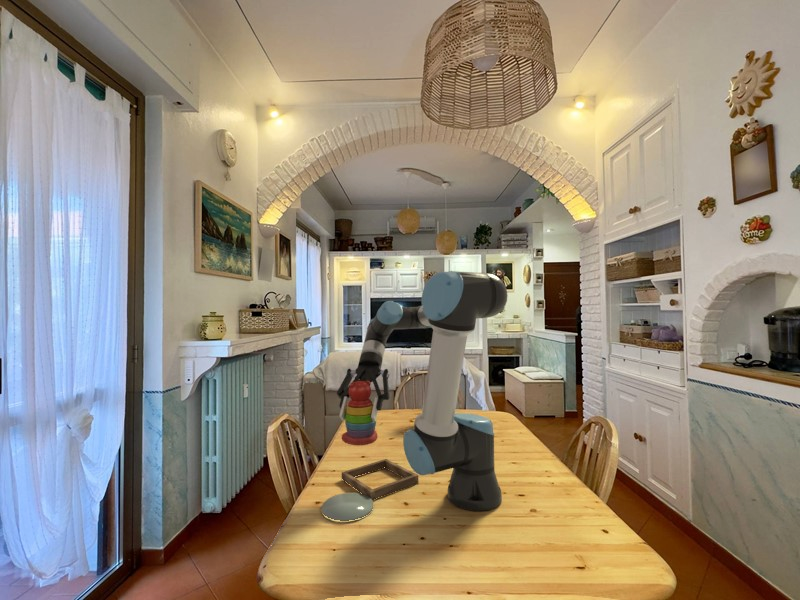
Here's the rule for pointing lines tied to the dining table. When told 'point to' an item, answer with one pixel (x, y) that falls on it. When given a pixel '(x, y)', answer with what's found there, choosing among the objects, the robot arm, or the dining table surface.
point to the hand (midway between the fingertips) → (357, 418)
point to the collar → (407, 481)
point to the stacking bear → (359, 415)
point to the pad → (347, 506)
